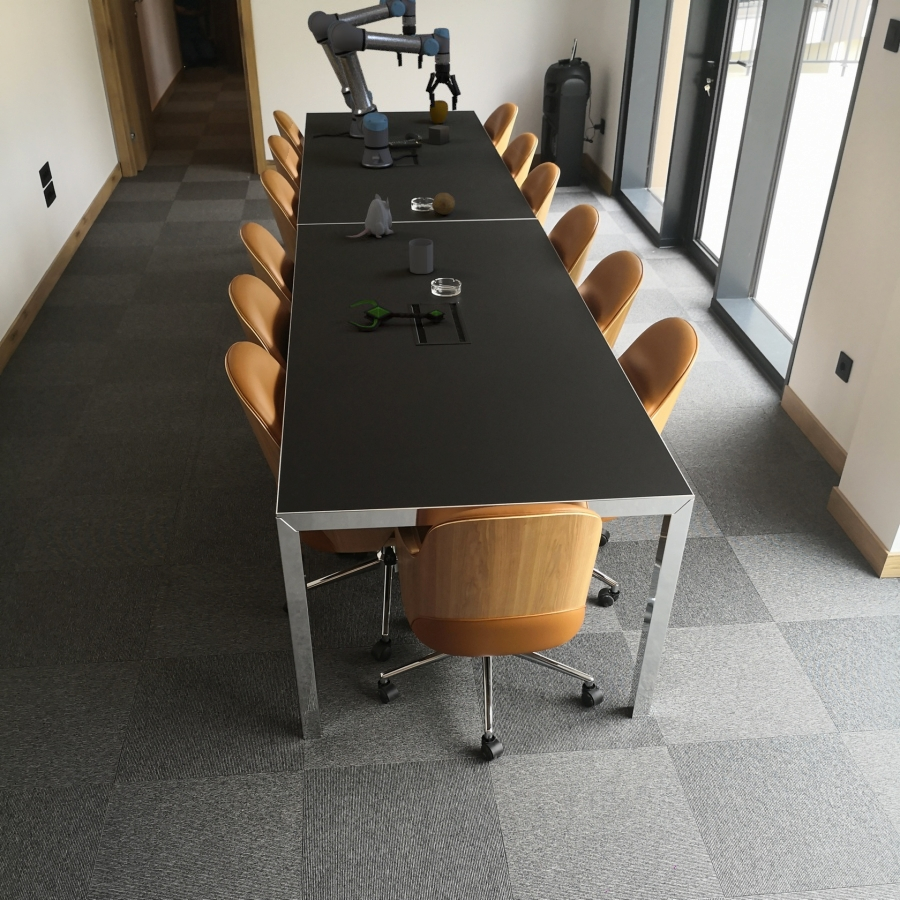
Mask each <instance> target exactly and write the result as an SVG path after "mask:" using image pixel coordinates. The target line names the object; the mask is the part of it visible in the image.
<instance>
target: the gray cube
mask: <svg viewBox="0 0 900 900" xmlns="http://www.w3.org/2000/svg"><path fill="white" fill-rule="evenodd" d="M447 143H450V126H449V125H444V124H443V125H442V124H434V125H432V126H428V144H430V145H431V144H432V145H437V146H442V145H445V144H447Z"/></svg>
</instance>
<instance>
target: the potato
mask: <svg viewBox="0 0 900 900" xmlns="http://www.w3.org/2000/svg"><path fill="white" fill-rule="evenodd" d="M455 206H456V200H455V198H454V196H452V195H451V194H449V193H448V192H439V193H437V194H436V195H435V197H434V198H433V200H432V201H431V207H432V209H433V210H434V212H436V213H437V214H439V215H441V216H442V215H449V214H450V213H452V212H453V211H454V209H455Z"/></svg>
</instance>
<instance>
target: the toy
mask: <svg viewBox="0 0 900 900" xmlns="http://www.w3.org/2000/svg"><path fill="white" fill-rule="evenodd" d="M392 226H393V217H392V214H391V210H390V201H389V197H388V196H387V198H386V200H382V198H381V196H380V195H379V194H378V193H375V195H374V199H373V200H372V201H371V203H370V205H369V207H368V210H367V213H366V218H365V220H364V228H365V229H364V230H363V231H361V232H360V233H358V234H355V235H345V237H347V238H351V239H353V238H355V239H356V238H359V237H362V236H364V235H368V236H370V235H375V238H378V239H382V235H385V236H387V235H391V234H394V230H392V229H390V228H392Z"/></svg>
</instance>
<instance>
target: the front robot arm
mask: <svg viewBox="0 0 900 900" xmlns="http://www.w3.org/2000/svg"><path fill="white" fill-rule="evenodd" d="M327 34H328V39H329V41H330V43H331V44H332V47H333V50H334V53H335V56H337V57H338V58H339V59H340V61H341V65H342V68H343V71H344V74H345V77H346V80H347V83H348V86H349V89H350V92H351V96H352V99H353V102H354V105H355V111H354V115H355V118H356V125H357V128H358V130H359V131H360V132H361V133H362V134H363V135H364V139H363V140H364V151H363V155H362V159H361V166H362V167H363V168H366V169H371V170H381V169H387V168H390V167H392V166H394V161H398V160H401V159H402V158H407V157H418V153H411V154H410V153H409V154H402V155H400V156H398V157H392V155H391V152H390V151H391V150H390V147H389V145H390V144H389V120H388V117H387V115H385V114H384V113H381V112H379V110H378V107H377V104H375V103H372V101H371V97H370V94H369V91H370V90H369V88H368V85H367V82H366V78H365V76H364V75H365V74H364V72H363V69H362V65H361V63H360V59H359V55H358V52H365V51H366V50H368V51H380V52H389V53H390V52H391V53H396V52H400V53H402V54H413V55H419V54H421V55H423V56H427V57H434V63H435V64H434V71H433V72H430V74H429V79H428V82H427V85H426V88H425V92H426V93H428V99H429V102H430V103H429V107H430V106H431V108H433V107H435V101H436V98H435V97H436V94H435V93H436V92H435V91H436V89H437V87H438V85H439V84H443V85H445V86H446V87H447V89H448V90H449V91H450V93H451V95H452V96H451V111H453V112H454V111H457V108H458V107H457V104H458V102H459V101H458V98H459V97H458V96H461V95H462V92H461V90H460V87H459V84H458V82H457V79H456V74H451V47H450V45H451V35H450V29H449V28H447V27H436V28H434V29H433V32H432V33H416V35H411V36H407V35H403V34H402V35H398V33H387V32H379V31H378V32H377V31H368V30H367V29H366V28H361V27H354V26H352V25H350V24H349V23H347V22H346V21H343V20H337V21H335V22H333V23H332V24H331V25H330V26H329V28H328V33H327ZM368 90H369V91H368Z"/></svg>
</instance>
